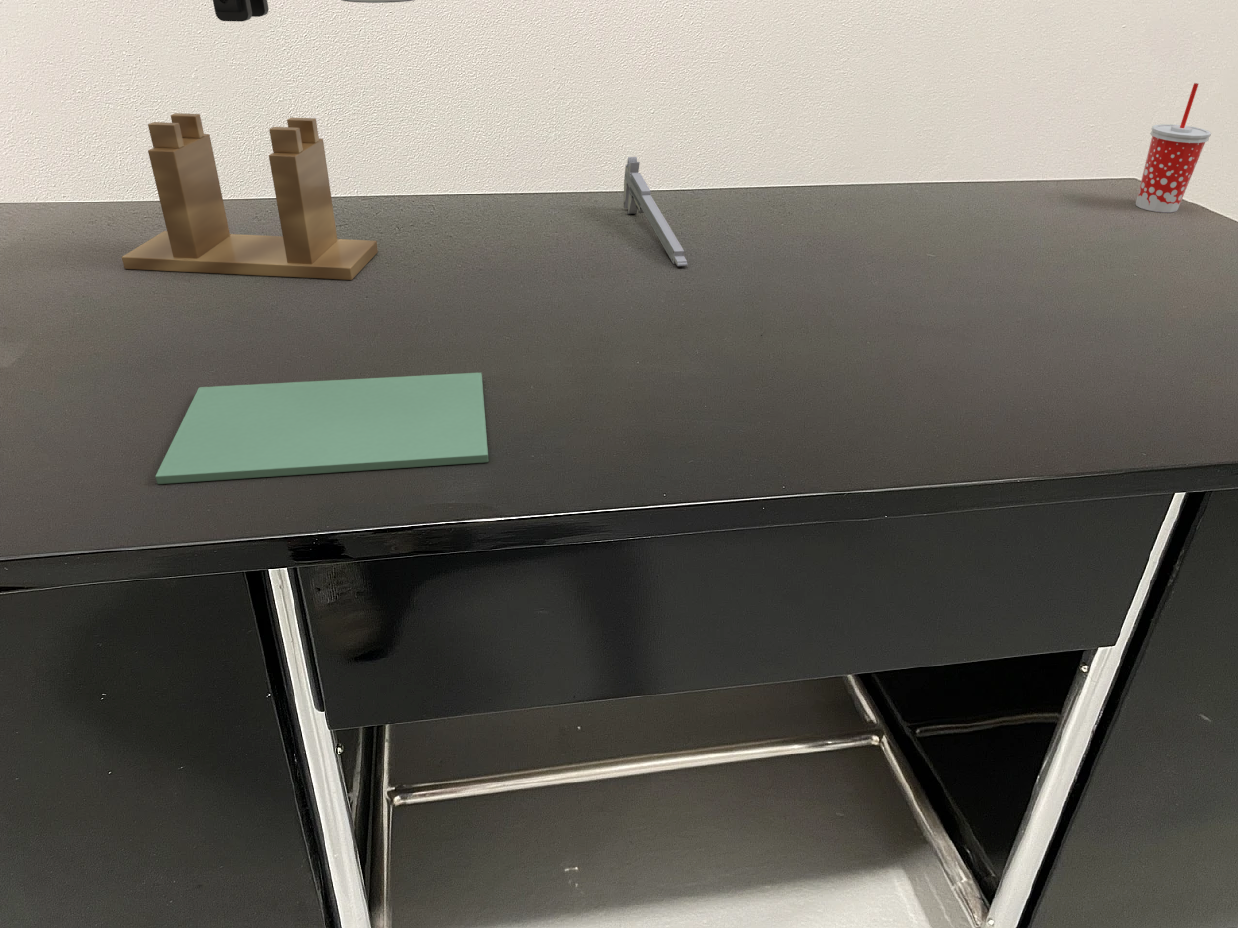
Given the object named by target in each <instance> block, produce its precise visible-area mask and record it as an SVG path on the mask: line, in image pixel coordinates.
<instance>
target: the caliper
mask: <svg viewBox="0 0 1238 928" xmlns="http://www.w3.org/2000/svg"><path fill="white" fill-rule="evenodd" d="M624 168H625V169H624V177H623V208H624V209H627V215H636V214H637V213H639V214H643V215H644V216H645V218H646V219H647V221H648V223H649V225H650V226H651V228H652V230H653V232H654V233H655V235H656V237H657V239H658V241H659V242H660V244H661V245H662V247H663V249H664V251H665V253H666V254H667V257H668V258H669V260H670V262H671V263H672V265H676V266H677V267H684V266H686V267H687V266H688V261H687V259H686V257H685V250H684V248H683V246H682V245H681V243H680V242H679V240H678V238H677V236H676V235H675V233H674V231H673V229H672V228H671V226H670V225H669V223H668V221H667V220H666V218H665V216H664V215H663V213H662V211H661V210H660V208H659V206H658V205H657V203H656V202H655V200H654V198H653V197H652V194H651V193H652V190H651V189H650V187H649V186H648V183H647V182H646V180H645V178H644V177H643V175H642V174H641V172H639V171H640V161H638V157H637V156H627V164H625V167H624Z"/></svg>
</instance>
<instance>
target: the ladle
mask: <svg viewBox="0 0 1238 928" xmlns="http://www.w3.org/2000/svg"><path fill="white" fill-rule="evenodd" d="M341 1H342V2H348V3H367V4H383V3H384V4H385V3H387V4H388V3H390V4H391V3H404V2H406V3H407V2H413V1H415V0H341Z"/></svg>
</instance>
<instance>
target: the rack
mask: <svg viewBox="0 0 1238 928" xmlns="http://www.w3.org/2000/svg"><path fill="white" fill-rule="evenodd" d="M170 119H171V122H161V121H152V122H150V123H148V124H147V127H148V131H149V135H150V139H151V140H150V141H151V144H152V148H150V149H148V150H147V153H148V157H149V161H150V162H149V163H150V166H151V169H152V174H153V178H154V182H155V186H156V190H157V191H156V192H157V195H158V199H159V203H160V207H161V211H162V216H163V220H164V222H165V223H164V224H165V228H166V230H163V231H161V232H160V233H158V234H157V235H155V236H153V237H152V238H150V239H149V240H147V241H145V242H144V243H142V244H140V245H139V246H137V247H135V248H134V249H132V250H131V251H129V252H128V253H126V254H124V255H122V256H121V261H122V265H123V268H124V269H125V270H137V271H138V270H139V271H140V270H141V271H157V272H158V271H159V272H181V273H201V274H202V273H203V274H221V275H222V274H223V275H224V274H225V275H242V276H259V277H261V276H263V277H281V278H301V279H302V278H303V279H304V278H305V279H325V280H341V281H342V280H343V281H344V280H345V281H352V280H353V279H354V278H355V277H356V276H357V275H358V274H359V273H361V271H362V270H363V269H364V268H365V267H366V265H367V264H368V263H369V262H370V261H372V259H373V258H374V257H375V256H376V255H377V254H378V253H379V249H378V242H377V240H366V239H349V238H348V239H345V238H338V233H337V227H336V220H335V215H334V214H335V212H334V205H333V199H332V192H331V185H330V184H331V183H330V179H329V171H328V163H327V158H326V151H325V150H326V149H325V143H324V142H325V141H324V139H323V138H320V137H319V129H318V122H317V118H314V117H290V118H288V119H287V118H286V123H287V126H273V127H270V128H268V130H269V137H270V142H271V148H272V153H270V154H268V160H269V166H270V172H271V177H272V182H273V188H274V194H275V200H276V205H277V212H278V217H279V222H280V223H279V224H280V228H281V229H280V230H281V234H282V235H281V236H280V235H278V236H277V235H259V234H236V233H230V228H229V223H228V218H227V213H226V208H225V203H224V199H223V193H222V190H221V189H222V188H221V183H220V180H219V174H218V169H217V164H216V159H215V155H214V149H213V144H212V139H211V135H210V134H209V133H205V132H204V127H203V123H202V118H201V114H200V113H185V112H183V113H182V112H175V113H172V114H171V115H170Z"/></svg>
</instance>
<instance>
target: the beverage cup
mask: <svg viewBox="0 0 1238 928" xmlns="http://www.w3.org/2000/svg"><path fill="white" fill-rule="evenodd" d="M1198 88H1199V83H1198V82H1194V83H1193V86H1192V89H1191V92H1190V95H1189V98H1188V101H1187V104H1186V107H1185V110H1184V113H1183V115H1182V120H1181V121H1180V124H1171V123H1170V124H1167V123H1166V124H1165V123H1162V124H1161V123H1160V124H1155V125H1152V126H1151V132H1150V133H1149V134H1150V135H1151V138H1150V142H1149V147H1148V151H1147V156H1146V160H1145V163H1144V167H1143V172H1142V176H1141V179H1140V184H1139V188H1138V193H1137V196H1136V200H1135V206H1136V207H1138V208H1139V209H1142V210H1146V211H1150V212H1156V213H1176V212H1177V211H1178V210H1179V208H1180V206H1181V203H1182V200H1183V198H1184V196H1185V193H1186V190H1187V189H1188V186H1189V183H1190V181H1191V179H1192V176H1193V174H1194V171H1195V168H1196V166H1197V164H1198V162H1199V159H1200V156H1201V155H1202V152H1203V149H1204V147H1205V144H1206V143H1207V142H1209V139H1210V137H1211V135H1212V133H1211V131H1209V130H1207V129H1205V128H1201V127H1197V126H1190V125H1186V124H1187V121H1188V118H1189V115H1190V111H1191V109H1192V105H1193V103H1194V99H1195V97H1196V93H1197V91H1198Z"/></svg>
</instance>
